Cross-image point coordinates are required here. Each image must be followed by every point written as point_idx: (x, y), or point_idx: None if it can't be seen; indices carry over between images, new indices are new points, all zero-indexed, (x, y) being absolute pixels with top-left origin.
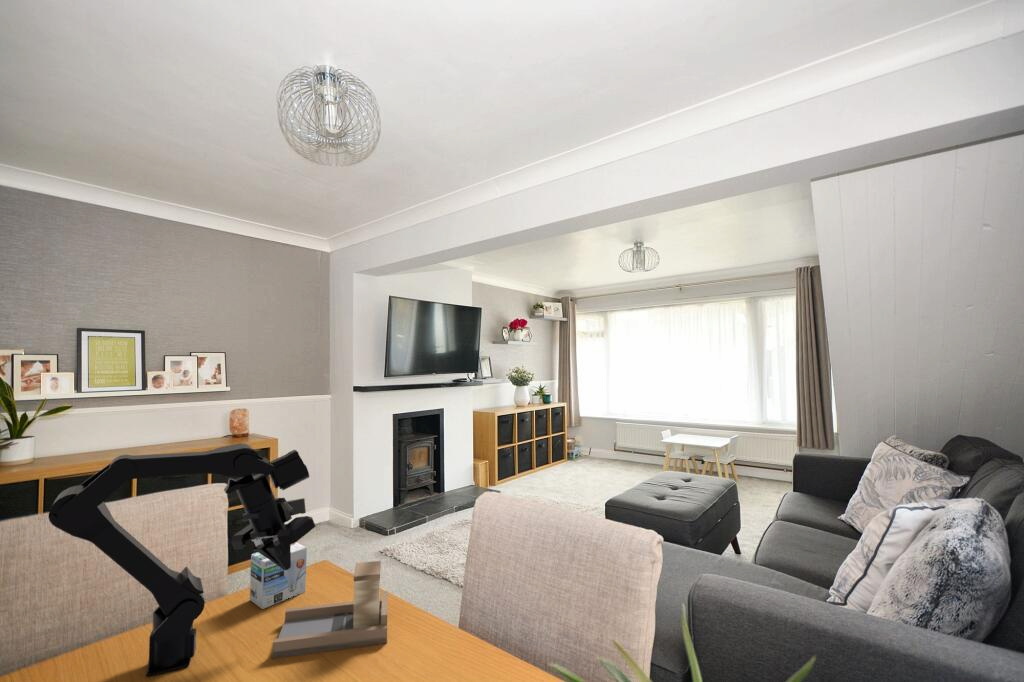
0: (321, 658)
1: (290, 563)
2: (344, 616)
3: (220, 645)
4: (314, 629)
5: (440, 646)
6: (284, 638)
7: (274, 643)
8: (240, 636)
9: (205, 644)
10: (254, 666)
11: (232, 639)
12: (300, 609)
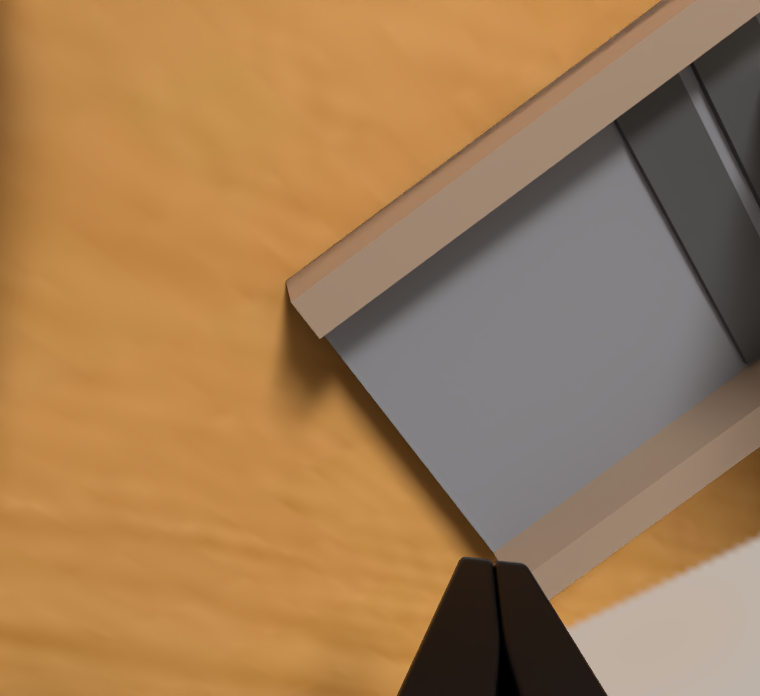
0: None
1: (552, 611)
2: (695, 110)
3: (113, 617)
4: (587, 316)
5: None
6: (567, 554)
7: None
8: (135, 512)
9: (15, 652)
10: None
11: (119, 553)
12: (407, 260)
